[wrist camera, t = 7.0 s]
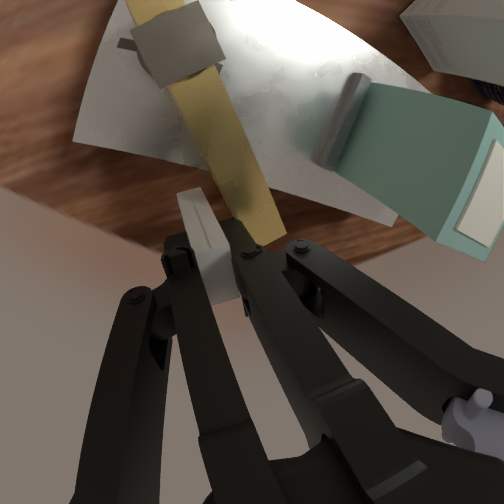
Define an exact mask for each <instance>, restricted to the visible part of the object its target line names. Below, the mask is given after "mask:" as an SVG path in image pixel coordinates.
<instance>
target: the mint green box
mask: <svg viewBox="0 0 504 504" xmlns="http://www.w3.org/2000/svg"><path fill="white" fill-rule="evenodd" d="M333 171H334V172H335V173H337V174H338V175H340V176H342V177H343V178H345V179H346V180H348V181H350V182H351V183H353V184H354V185H356V186H357V187H359V188H360V189H362V190H363V191H365V192H367V193H368V194H370V195H371V196H373V197H374V198H376V199H377V200H378V201H380V202H381V203H383V204H384V205H386V206H387V207H389V208H390V209H392V210H393V211H394V212H396V213H397V214H399V215H400V216H402V217H403V218H404V219H406V220H407V221H408V222H410V223H411V224H413V225H414V226H415V227H417V228H418V229H419V230H421V231H422V232H423V233H425V234H426V235H427V236H429V237H430V238H431V239H433V240H434V241H436V242H438V243H440V244H443V245H445V246H448V247H450V248H453V249H455V250H457V251H460V252H462V253H464V254H467V255H469V256H471V257H474V258H476V259H478V260H481V261H483V262H485V260H486V258H487V257H488V255H489V253H490V251H491V250H492V248H493V246H494V244H495V242H496V240H497V238H498V236H499V234H500V232H501V230H502V228H503V226H504V127H503V126H502V124H501V123H500V121H499V120H498V119H497V117H496V116H495V114H494V113H493V112H492V111H489V110H486V109H483V108H480V107H477V106H474V105H471V104H467V103H464V102H461V101H457V100H454V99H450V98H446V97H442V96H438V95H434V94H430V93H426V92H421V91H417V90H412V89H407V88H402V87H397V86H392V85H386V84H380V83H374V82H371V83H370V85H369V88H368V90H367V93H366V95H365V97H364V100H363V102H362V105H361V107H360V109H359V112H358V114H357V117H356V119H355V121H354V124H353V126H352V128H351V131H350V133H349V135H348V138H347V140H346V142H345V145H344V147H343V149H342V151H341V154H340V156H339V158H338V161H337V163H336V165H335V167H334V170H333Z"/></svg>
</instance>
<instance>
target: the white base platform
mask: <svg viewBox="0 0 504 504" xmlns="http://www.w3.org/2000/svg"><path fill="white" fill-rule="evenodd" d="M194 1H197V0H184V2H185V4H189V3H192V2H194ZM199 2H200V4H201V6H202V9H203V11H204V13H205V15H206V17H207V19H208V21H209V22H210V23H211V25H212V26H213V28H214V30H215V33H216V37H217V40H218V42H219V44H220V46H221V48H222V51H223V53H224V55H225V57H226V59H225V60H223V61H220V62H218V63H215V64H214V65H215V67H216V69H217V71H218V73H219V76H220V78H221V80H222V82H223V84H224V86H225V89H226V91H227V93H228V95H229V98H230V100H231V102H232V104H233V106H234V109H235V111H236V113H237V115H238V118H239V120H240V122H241V125H242V127H243V129H244V131H245V134H246V136H247V138H248V141H249V143H250V145H251V148H252V150H253V152H254V155H255V157H256V159H257V162H258V164H259V166H260V169H261V171H262V173H263V176H264V178H265V181H266V183H267V185H268V187H269V188H273V189H276V190H279V191H283V192H286V193H289V194H293V195H296V196H299V197H303V198H306V199H309V200H312V201H315V202H319V203H322V204H325V205H328V206H331V207H334V208H337V209H340V210H343V211H346V212H349V213H352V214H355V215H358V216H361V217H364V218H367V219H370V220H373V221H376V222H378V223H381V224H384V225H387V226H390V227H392V226H393V224H394V222H395V220H396V218H397V216H398V214H397V213H396V212H394V211H393V210H392V209H390V208H389V207H387V206H386V205H384V204H383V203H381V202H380V201H378V200H377V199H376V198H374V197H373V196H371V195H370V194H368V193H367V192H365V191H363V190H362V189H360V188H359V187H357V186H356V185H354V184H353V183H351V182H350V181H348V180H346V179H345V178H343V177H342V176H340V175H338V174H337V173H335V172H334V171H333V170H334V167H335V165H336V163H337V161H338V158H339V156H340V154H341V151H342V149H343V147H344V145H345V142H346V140H347V138H348V135H349V133H350V131H351V128H352V126H353V124H354V121H355V119H356V117H357V114H358V112H359V109H360V107H361V105H362V102H363V100H364V97H365V95H366V93H367V90H368V88H369V85H370V83H371V82H374V83H380V84H386V85H392V86H397V87H402V88H407V89H412V90H417V91H421V92H426V93H430V92H429V91H428V90H427V89H426V88H425V87H423V86H422V85H421V84H420V83H419V82H418V81H416V80H415V79H414V78H413V77H412V76H410V75H409V74H408V73H407V72H405V71H404V70H403V69H402V68H400V67H399V66H398V65H396V64H395V63H394V62H392V61H391V60H390V59H388V58H387V57H386V56H384V55H383V54H382V53H380V52H379V51H377V50H376V49H375V48H373V47H372V46H370V45H369V44H367V43H366V42H364V41H363V40H361V39H360V38H358V37H357V36H355V35H354V34H352V33H351V32H349V31H347V30H346V29H344V28H343V27H341V26H339V25H338V24H336V23H334V22H333V21H331V20H329V19H327V18H326V17H324V16H322V15H320V14H319V13H317V12H315V11H313V10H311V9H309V8H307V7H306V6H304V5H302V4H300V3H298V2H296V1H294V0H199ZM135 27H136V26H135V24H134V22H133V20H132V18H131V16H130V14H129V11H128V7H127V4H126V1H125V0H118V2H117V4H116V6H115V9H114V11H113V13H112V16H111V18H110V20H109V23H108V25H107V28H106V30H105V33H104V35H103V38H102V41H101V43H100V46H99V49H98V52H97V54H96V57H95V60H94V63H93V66H92V69H91V72H90V76H89V79H88V82H87V85H86V89H85V92H84V96H83V100H82V103H81V107H80V111H79V115H78V119H77V123H76V127H75V132H74V136H73V141H72V142H77V143H83V144H88V145H94V146H99V147H104V148H109V149H114V150H119V151H124V152H129V153H134V154H138V155H143V156H148V157H152V158H156V159H161V160H165V161H170V162H174V163H178V164H182V165H186V166H190V167H194V168H199V169H202V170H206V171H209V170H208V168H207V166H206V164H205V162H204V160H203V158H202V156H201V154H200V152H199V150H198V148H197V146H196V144H195V142H194V140H193V138H192V136H191V134H190V132H189V130H188V128H187V126H186V124H185V122H184V120H183V118H182V116H181V114H180V112H179V111H178V109H177V107H176V105H175V103H174V101H173V99H172V97H171V95H170V93H169V91H168V89H167V87H164V88H162V89H160V90H159V88H158V86H157V84H156V82H155V80H154V78H153V77H151V76H150V75H149V74H148V73H147V72H146V71H145V70H144V69H143V67H142V66H141V64H140V62H139V60H138V57H137V51H136V43H135V41H134V39H133V37H132V35H131V33H130V31H129V30H131V29H133V28H135ZM430 94H431V93H430Z"/></svg>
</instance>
